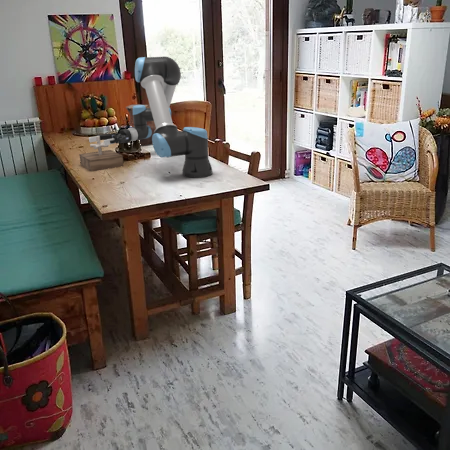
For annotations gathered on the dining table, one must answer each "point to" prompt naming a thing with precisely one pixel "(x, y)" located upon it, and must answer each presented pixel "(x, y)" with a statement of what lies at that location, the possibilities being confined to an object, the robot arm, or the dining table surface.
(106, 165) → the stand
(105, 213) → the dining table surface
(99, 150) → the pipe connector
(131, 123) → the jug
